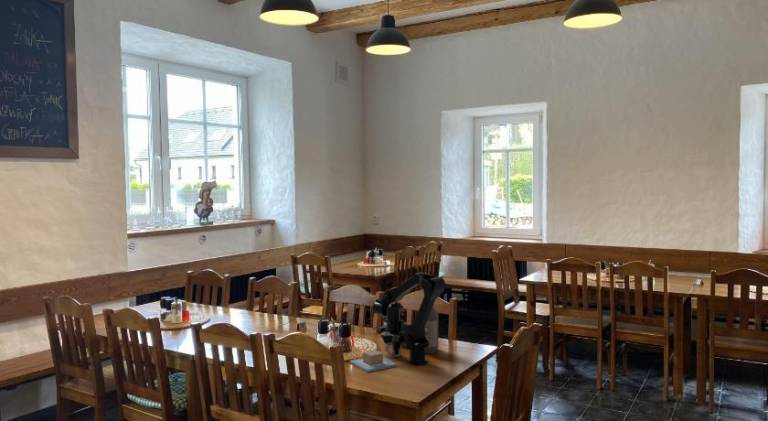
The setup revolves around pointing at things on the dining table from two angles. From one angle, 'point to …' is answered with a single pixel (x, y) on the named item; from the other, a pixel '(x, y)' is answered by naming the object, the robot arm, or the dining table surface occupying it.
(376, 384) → the dining table surface
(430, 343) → the liquor
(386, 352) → the terracotta block
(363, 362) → the blueprint board
